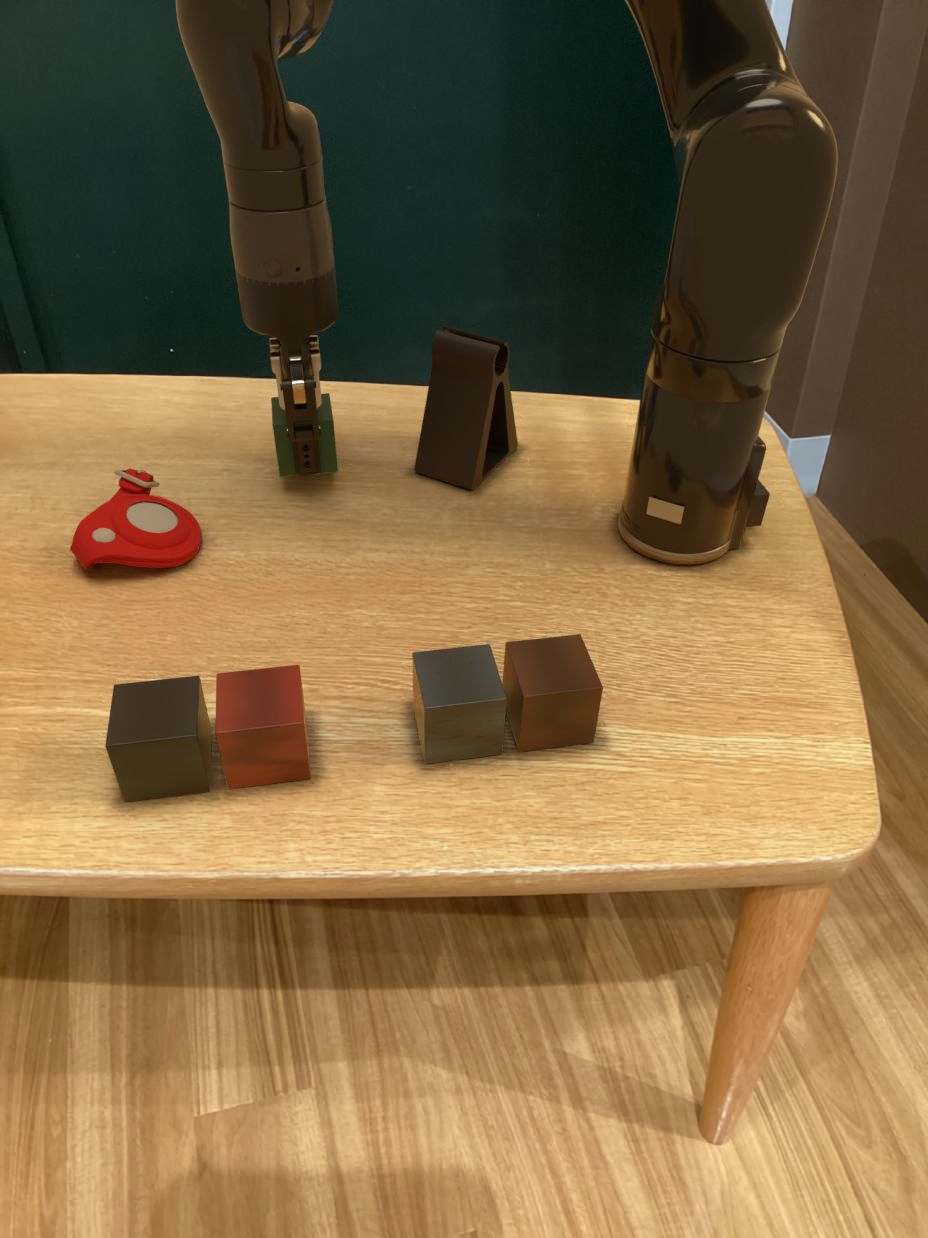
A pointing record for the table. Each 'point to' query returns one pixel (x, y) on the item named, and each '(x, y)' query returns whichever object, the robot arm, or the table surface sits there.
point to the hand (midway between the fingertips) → (306, 455)
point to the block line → (277, 728)
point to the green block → (325, 443)
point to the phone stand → (466, 410)
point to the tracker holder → (137, 528)
